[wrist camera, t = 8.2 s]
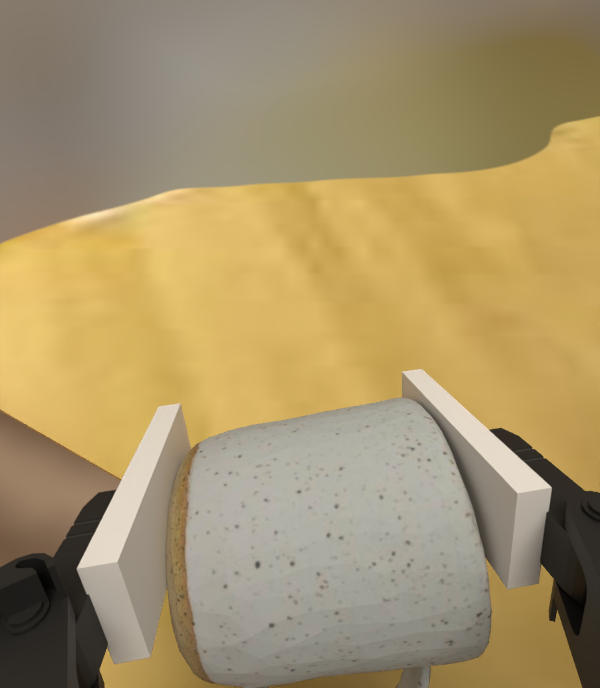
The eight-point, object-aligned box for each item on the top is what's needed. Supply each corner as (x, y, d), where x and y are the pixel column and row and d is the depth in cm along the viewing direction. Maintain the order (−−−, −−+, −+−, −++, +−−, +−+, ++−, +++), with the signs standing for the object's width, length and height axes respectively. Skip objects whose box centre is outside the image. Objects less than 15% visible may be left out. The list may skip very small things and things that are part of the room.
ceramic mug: (207, 455, 17) (146, 409, 10) (383, 424, 18) (439, 362, 11) (229, 776, 13) (147, 1086, 6) (462, 720, 13) (642, 937, 6)
